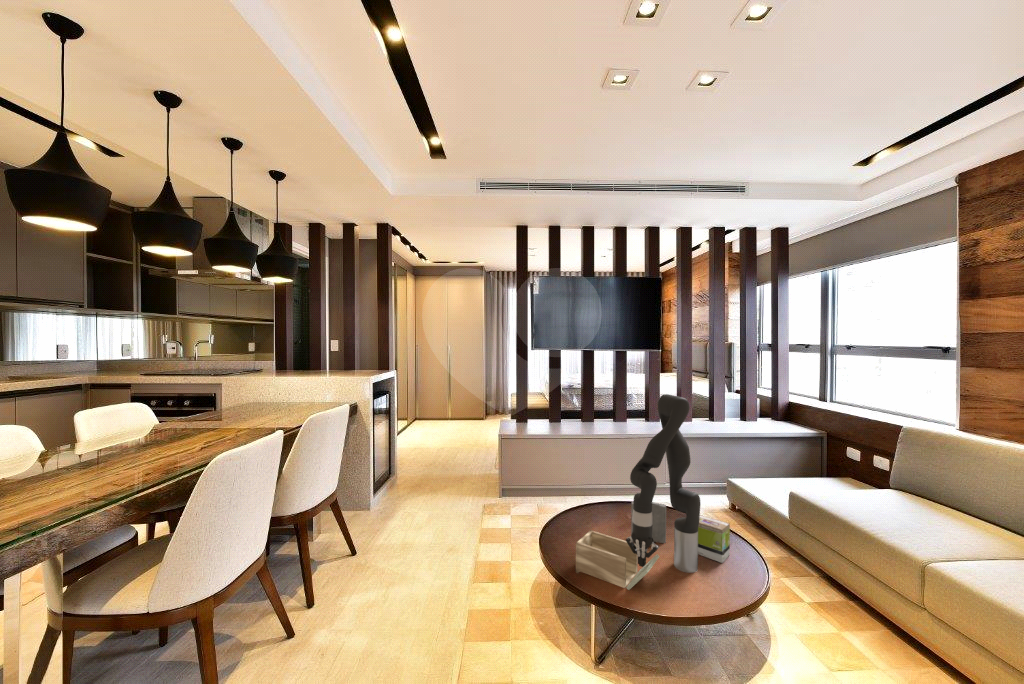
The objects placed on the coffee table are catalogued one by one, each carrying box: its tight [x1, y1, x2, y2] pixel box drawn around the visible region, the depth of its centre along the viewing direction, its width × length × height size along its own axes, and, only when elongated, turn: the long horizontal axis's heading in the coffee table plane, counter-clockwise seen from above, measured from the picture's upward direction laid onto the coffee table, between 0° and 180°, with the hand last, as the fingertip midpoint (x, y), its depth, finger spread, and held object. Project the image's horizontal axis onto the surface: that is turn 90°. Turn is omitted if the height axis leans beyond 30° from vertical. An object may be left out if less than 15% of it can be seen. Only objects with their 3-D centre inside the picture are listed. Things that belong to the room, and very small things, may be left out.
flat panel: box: [625, 553, 660, 591], centre depth 162 cm, size 14×1×12 cm
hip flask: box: [630, 501, 667, 544], centre depth 200 cm, size 16×4×20 cm, turn 78°
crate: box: [575, 529, 639, 589], centre depth 171 cm, size 14×21×12 cm, turn 54°
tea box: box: [698, 514, 731, 564], centre depth 187 cm, size 15×10×15 cm, turn 44°
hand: (641, 565), depth 162 cm, fingers closed
